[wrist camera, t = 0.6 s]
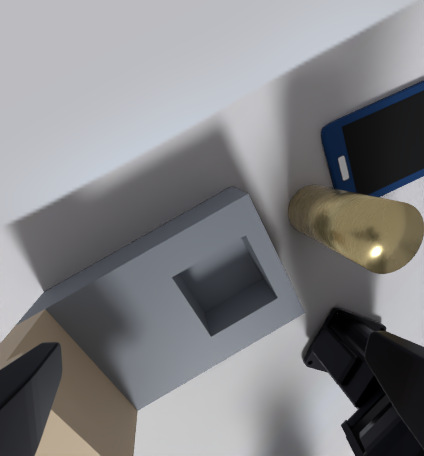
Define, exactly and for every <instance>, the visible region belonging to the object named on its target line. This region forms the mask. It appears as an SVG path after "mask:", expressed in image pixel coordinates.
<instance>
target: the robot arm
mask: <svg viewBox="0 0 424 456" xmlns="http://www.w3.org/2000/svg"><path fill="white" fill-rule="evenodd" d="M337 313H338V314H337ZM303 362H304V363H305V365H306V366H307V367H310V368H314V369H317V370H321V371H324V372H328V373H329V374H330V375H331V377H332V378H333V379H334V381H335V382H336V383H337V384H338V385H339V386H340V388H341V389H342V390H343V392H344V393H345V394H346V396H347V397H348V398H349V399H350V401H351V402H352V403H353V405H354V406H355V407H356V408H357V409H358V410H357V411H356V412H355V413H354V414H353V415H352V416H351V417H350V418H349V419H348V420H345V421H344V422H343V423H342V424H341V426H342V428H343V430H344V432H345V434H346V438H347V440H348V442H349V444H350V446H351V448H352V450H353V452H354V454H355V456H424V347H423V346H420V345H418V344H415V343H413V342H410V341H408V340H406V339H403V338H401V337H398V336H396V335H394V334H391V333H389V332H386V327H385V326H384V325H383V324H381V323H379V322H376V321H374V320H371V319H368V318H366V317H363V316H360V315H357V314H355V313H352V312H349V311H347V310H344V309H341V308H338V307H337V308H334V309H333V310H332V312H331V313H330V315H329V317H328V318H327V320H326V322H325V323H324V325H323V327H322V329H321V330H320V332H319V334H318V335H317V337H316V339H315V340H314V342H313V344H312V345H311V347H310V349H309V351H308V352H307V354H306V356H305V357H304V359H303ZM62 370H63V369H62V353H61V345H60V343H58V342H44V343H41V344H39V345H37V346H36V347H34V348H33V349H31V350H30V351H28V352H27V353H25V354H23V355H22V356H20V357H19V358H17V359H16V360H14V361H13V362H11V363H10V364H8V365H7V366H5V367H4V368H2V369H0V456H35V454H36V451H37V449H38V446H39V443H40V441H41V438H42V435H43V432H44V429H45V426H46V423H47V420H48V417H49V414H50V411H51V408H52V405H53V402H54V399H55V396H56V393H57V390H58V387H59V384H60V381H61V377H62Z"/></svg>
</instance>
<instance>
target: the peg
mask: <svg viewBox="0 0 424 456" xmlns="http://www.w3.org/2000/svg"><path fill="white" fill-rule="evenodd" d="M288 216H289V220H290V222H291V224H292V225H293V227H294V228H295V229H297V230H298V231H300V232H302V233H304V234H305V235H307V236H309V237H311V238H313V239H314V240H316V241H318V242H320V243H321V244H323V245H325V246H327V247H329V248H330V249H332V250H334V251H336V252H337V253H339V254H341V255H343V256H345V257H346V258H348V259H350V260H352V261H354V262H355V263H357V264H359V265H361V266H362V267H364V268H366V269H368V270H370V271H371V272H374V273H378V274H386V273H391V272H394V271H396V270H398V269H400V268H402V267H403V266H405V265H406V264H407V263H408V262H409V261H410V260H411V259H412V258H413V257H414V256H415V254H416V253H417V251H418V249H419V247H420V245H421V243H422V240H423V235H424V222H423V219H422V216H421V214H420V212H419V211H418V210H417V209H416V208H415V207H414V206H412V205H410V204H408V203H404V202H399V201H394V200H389V199H384V198H379V197H374V196H369V195H364V194H359V193H354V192H349V191H344V190H339V189H334V188H329V187H324V186H319V185H309V186H306V187H304V188H302V189H300V190H299V191H298V192H297V193H296V194H295V195H294V196H293V198H292V200H291V202H290V205H289V209H288Z"/></svg>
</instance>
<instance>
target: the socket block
mask: <svg viewBox="0 0 424 456" xmlns="http://www.w3.org/2000/svg"><path fill="white" fill-rule="evenodd" d="M304 313H305V311H304V309H303V307H302V305H301V303H300V300H299V298H298V296H297V294H296V292H295V290H294V288H293V286H292V284H291V282H290V280H289V277H288V275H287V273H286V271H285V269H284V267H283V265H282V263H281V261H280V259H279V257H278V255H277V252H276V250H275V248H274V246H273V244H272V242H271V240H270V238H269V236H268V234H267V232H266V230H265V227H264V225H263V223H262V221H261V219H260V217H259V215H258V213H257V211H256V209H255V207H254V204H253V202H252V200H251V198H250V196H249V194H248V193H246V192H244V191H241V190H239V189H237V188H235V187H233V186H231V187H229V188H228V189H226V190H224V191H222V192H221V193H219V194H217V195H215V196H213V197H212V198H210V199H208V200H206V201H205V202H203V203H201V204H199V205H198V206H196V207H194V208H192V209H190V210H189V211H187V212H185V213H183V214H182V215H180V216H178V217H176V218H175V219H173V220H171V221H169V222H167V223H166V224H164V225H162V226H160V227H159V228H157V229H155V230H153V231H152V232H150V233H148V234H146V235H144V236H143V237H141V238H139V239H137V240H136V241H134V242H132V243H130V244H129V245H127V246H125V247H123V248H121V249H120V250H118V251H116V252H114V253H113V254H111V255H109V256H107V257H106V258H104V259H102V260H100V261H98V262H97V263H95V264H93V265H91V266H90V267H88V268H86V269H84V270H83V271H81V272H79V273H77V274H75V275H74V276H72V277H70V278H68V279H67V280H65V281H63V282H61V283H60V284H58V285H56V286H54V287H52V288H51V289H49V290H47V291H45V292H44V293H43V294H42V295H41V296H40V297H39V299H38V300H37V301H36V302H35V303H34V304H33V306H32V307H31V308H30V309H29V310H28V312H27V313H26V314H25V315H24V316H23V317H22V319H21V320H20V321H19V322H18V323H17V324H16V326H15V327H14V328H13V329H12V330H11V332H10V333H9V334H8V335H7V336H6V337H5V339H4V340H3V341H2V342H1V343H0V369H2V368H4V367H5V366H7V365H8V364H10V363H11V362H13V361H14V360H16V359H17V358H19V357H20V356H22V355H23V354H25V353H27V352H28V351H30V350H31V349H33V348H34V347H36V346H37V345H39V344H41V343H44V342H58V343H60V345H61V353H62V369H63V370H62V377H61V381H60V384H59V387H58V390H57V393H56V396H55V399H54V402H53V405H52V408H51V411H50V414H49V417H48V420H47V423H46V426H45V429H44V432H43V435H42V438H41V441H40V443H39V446H38V449H37V451H36V454H35V456H133V454H134V443H135V432H136V422H137V411H138V410H140V409H141V408H143V407H145V406H146V405H148V404H150V403H152V402H153V401H155V400H157V399H158V398H160V397H162V396H163V395H165V394H167V393H169V392H170V391H172V390H174V389H175V388H177V387H179V386H181V385H182V384H184V383H186V382H187V381H189V380H191V379H193V378H194V377H196V376H198V375H199V374H201V373H203V372H205V371H206V370H208V369H210V368H211V367H213V366H215V365H217V364H218V363H220V362H222V361H223V360H225V359H227V358H228V357H230V356H232V355H234V354H235V353H237V352H239V351H240V350H242V349H244V348H246V347H247V346H249V345H251V344H252V343H254V342H256V341H258V340H259V339H261V338H263V337H264V336H266V335H268V334H270V333H271V332H273V331H275V330H276V329H278V328H280V327H282V326H283V325H285V324H287V323H288V322H290V321H292V320H293V319H295V318H297V317H299V316H300V315H302V314H304Z"/></svg>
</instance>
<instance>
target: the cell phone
mask: <svg viewBox="0 0 424 456" xmlns="http://www.w3.org/2000/svg"><path fill="white" fill-rule="evenodd" d="M321 138H322V144H323V148H324V151H325V155H326V159H327V163H328V167H329V171H330V175H331V179H332V183H333V187H334V189H339V190H344V191H349V192H354V193H359V194H364V195H369V196H374V197H380V196H383V195H385V194H387V193H389V192H391V191H393V190H395V189H397V188H400V187H402V186H404V185H406V184H408V183H410V182H412V181H414V180H416V179H419V178H421V177H423V176H424V81H422V82H419V83H417V84H415V85H413V86H410V87H408V88H406V89H404V90H402V91H399V92H397V93H395V94H393V95H390V96H388V97H386V98H384V99H382V100H379V101H377V102H375V103H373V104H370V105H368V106H366V107H364V108H362V109H359V110H357V111H355V112H353V113H350V114H348V115H346V116H344V117H342V118H339V119H337V120H335V121H333V122H331V123H329V124H328V125H326V126H325V127H323V129H322V131H321Z"/></svg>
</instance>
